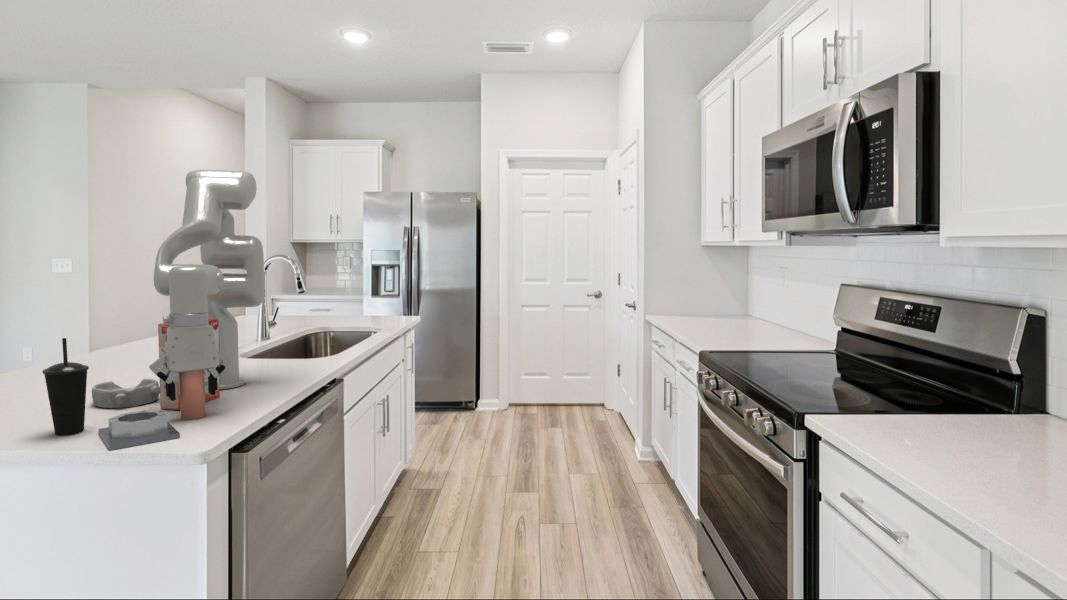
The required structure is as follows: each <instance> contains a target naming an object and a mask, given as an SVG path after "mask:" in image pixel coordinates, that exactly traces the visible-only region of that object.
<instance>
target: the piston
mask: <svg viewBox="0 0 1067 600" xmlns="http://www.w3.org/2000/svg"><path fill="white" fill-rule="evenodd" d="M179 385H180V410H179V411H180V419H181V420H182V421H194V419H196V420H199V418H201V419H203V418H202V417H204V418H205V417H206V416H207V415H206V402H205V383H204V370H195V371H189V372H179Z"/></svg>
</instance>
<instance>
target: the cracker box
mask: <svg viewBox="0 0 1067 600" xmlns="http://www.w3.org/2000/svg"><path fill="white" fill-rule="evenodd" d="M208 324H209V325H212V326H213V329H214V333H215V339H216V346H217V351H218V352H219V320H218V319H214V318H208ZM168 327H171V325H170V324H169V323H163V322H161V323H158V324H157V328H158V329H157V333H158V335H157V336H158V337H157V338H158V359H159V358H160V357H162V356H163V355H164V354H165V340H166V333H167V328H168ZM218 365H219V358H218V364H217V366H218ZM217 366H216V367H217ZM216 367H214V368H216ZM159 370H160V371H161V372H162V373H164V374H165V375H166V373H167V372H168V369H167V368H166V367H165V363H164V364H162V365H161V366H160V367H159ZM209 376H210V373H209V372H208V371H207V369H206V370H204V383H205V403H206V402H209V401H212V400H215V399H218V398H220V395H221V393H220V391H221V390H220V380H219V377H217V385H218V390H215V395H212V394H210V393H209V391H208V377H209ZM173 382H174V383H175V394H176V400H175V401H171V400H170V399H169V397H167V396H166V382H165V381H163V380H162V379H161V378H159V387H160V394H159V403H160V409H164V410H174V411H181V410H180V385H179V373H177V374H176V376H175V378H174V379H173Z"/></svg>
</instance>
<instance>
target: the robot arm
mask: <svg viewBox="0 0 1067 600" xmlns="http://www.w3.org/2000/svg"><path fill="white" fill-rule="evenodd" d="M185 186H186V189H185V190H186V191H185V197H184V198H185V199H184V209H183V215H182V223H181V226H180V227H179V228H177V229H176V230H175V231H174V232H172V233H171V234H170V235H169V236H168V237H167V238H166V239H165V240H164V241H163V242H162V243H161V245H160V246H159V248H158V250H157V253H156V257H155V263H154V270H153V285H154V286H153V287H154V289H155V291H156V292H157V293H158V294H160V295H162V296H164V297H169V314H168V316H163V317H162V323H169V324H170V325H171V327H168V328H167V333H166V340H165V354H164V355H163V356H162V357H160V358H159V357H158V359H157V360H155V361H153V362H152V364H150V365H148V368H149V370H150V371H151V372H152V373H153V374H154V375H155V376H157V378H159V379H160V378H161V379H162V380H163V381H165V382H166V396H167V397H169V399H170V400H171V401H175V400H176V394H175V383H174V382H173V379H174V378H175V376H176V374H177V373H179V372H189V371H195V370H206V369H207V371H208V372H209V373H210V376H209V377H208V391H209V393H210V394H212V395H215V390H218V385H217V377H219V380H220V391H221V390H228V389H234V388H238V387H241V386H243V385H245V384H246V379H245V378H244V377H241V376H240V363H239V362H240V360H239V357H240V356H239V333H238V332H239V331H238V330H239V328H238V327H239V326H238V325H239V324H238V321H237V319H236V318H235V316H234V315H233V314H232V313H231V312H230V311H229V310H228V309H230V308H231V309H232V308H256V307H259V306H261V305H262V303H263V301H264V299H265V297H264V296H265V257H264V247H263V244H262V242H261V240H260V239H259V238H258V237H256V236H254V235H253V236H252V235H236V234H235V218H234V215H232V213H231V212H230V211H229V210H234V211H235V210H236V211H237V210H238V211H239V210H241V211H243V210H246V209H248V208H249V207H250V206H251V204H252V203H253V202H254V200H255V197H256V195H257V182H256V178H255V177H254V175H253V174H252V173H251V172H250V171H243V170H226V169H225V170H224V169H223V170H222V169H195V170H191V171H189V172H188V173H187V174H186V176H185ZM196 247H200V248H199V249H200V258H201V259H200V260H201V263H202V264H194V263H189V264H187V263H185V264H183V263H181V264H180V263H176V264H174V263H173V262H174V261H175V259H176V258H178V257H179V256H180V255H181V254H182V253H185V252H186V251H188V250H191V249H193V248H196ZM221 270H244V271H245V273H223V272H222V271H221ZM208 318H214V319H218V320H219V352H218V351H217V346H216V339H215V333H214V329H213V326H212V325H209V324H208ZM218 358H219V365H218V366H217V364H218ZM164 363H165V367H166V368H167V369H168V372H167V373H166V375H165V374H164V373H162V372H161V371H160V370H159V367H160V366H161V365H162V364H164ZM216 366H217V367H216ZM214 367H216V368H214Z"/></svg>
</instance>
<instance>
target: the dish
mask: <svg viewBox="0 0 1067 600" xmlns="http://www.w3.org/2000/svg"><path fill="white" fill-rule="evenodd" d="M91 398H92V401H93V405H94V406H96V407H98V408H108V409H109V408H111V409H123V408H132V407H137V406H142V405H146V404H149V403H153V402H155V401H157V400H159V399H160V383H159V381H158V380H157V379H154V378H143V379H142V380H141V381H140V383H139V384H137V385H136V386H133V387H127V388H125V387H122V386H120V385H119V384H116V383H115V382H114V381H111V380H109V381H103V382H98V383H97V384H95V385H93V386H92V389H91Z"/></svg>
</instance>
